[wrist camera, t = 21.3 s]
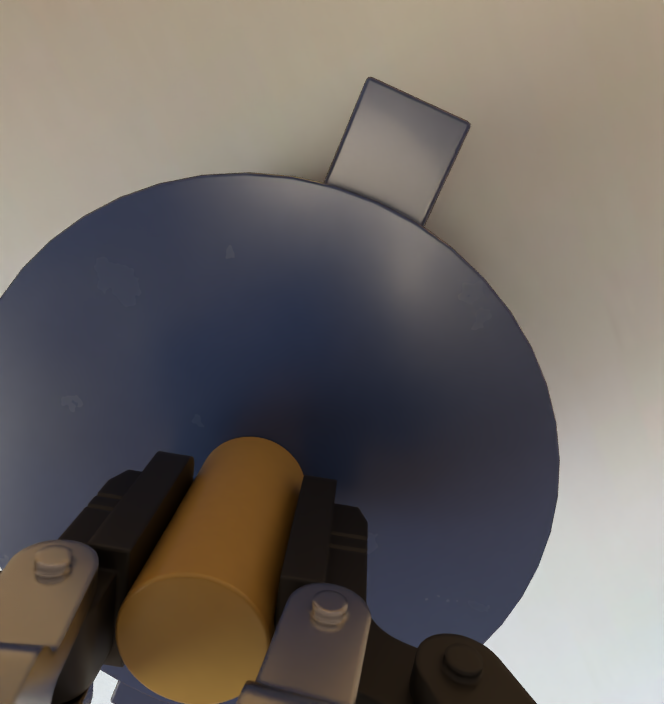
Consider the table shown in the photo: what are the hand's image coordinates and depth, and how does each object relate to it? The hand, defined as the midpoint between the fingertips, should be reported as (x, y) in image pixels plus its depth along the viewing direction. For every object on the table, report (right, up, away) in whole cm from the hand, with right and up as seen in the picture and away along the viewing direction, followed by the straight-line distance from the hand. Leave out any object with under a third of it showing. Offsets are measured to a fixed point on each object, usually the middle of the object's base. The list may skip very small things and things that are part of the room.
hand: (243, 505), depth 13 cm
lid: (0, 0, +1) cm, 1 cm away
